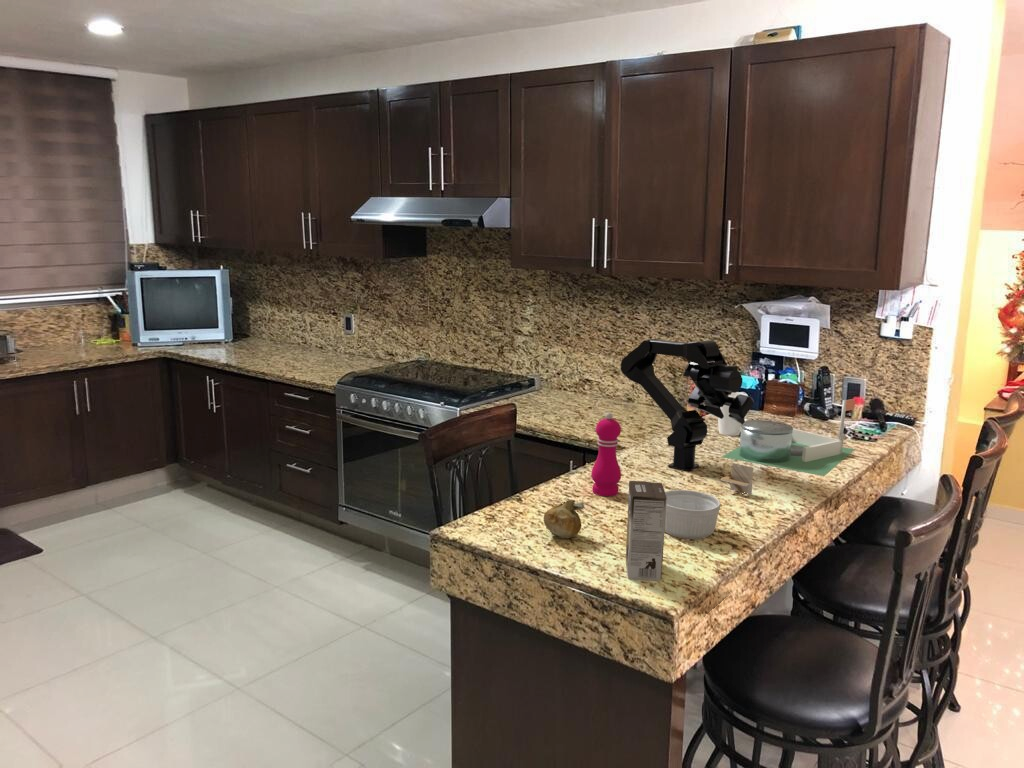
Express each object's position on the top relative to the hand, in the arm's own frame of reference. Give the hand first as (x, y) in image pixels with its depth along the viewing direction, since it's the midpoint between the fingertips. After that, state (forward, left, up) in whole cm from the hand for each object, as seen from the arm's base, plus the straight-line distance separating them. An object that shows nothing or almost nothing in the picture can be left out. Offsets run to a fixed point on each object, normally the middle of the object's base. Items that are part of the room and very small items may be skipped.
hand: (732, 420), depth 219 cm
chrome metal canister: (+14, -5, -12) cm, 19 cm away
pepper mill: (-44, +15, -13) cm, 48 cm away
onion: (-75, +8, -13) cm, 76 cm away
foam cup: (+34, +13, -13) cm, 39 cm away
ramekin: (-55, -11, -13) cm, 58 cm away
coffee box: (-80, -13, -13) cm, 82 cm away
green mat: (+23, -10, -13) cm, 28 cm away
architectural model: (-23, -11, -13) cm, 29 cm away
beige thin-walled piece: (+29, -11, -12) cm, 33 cm away
